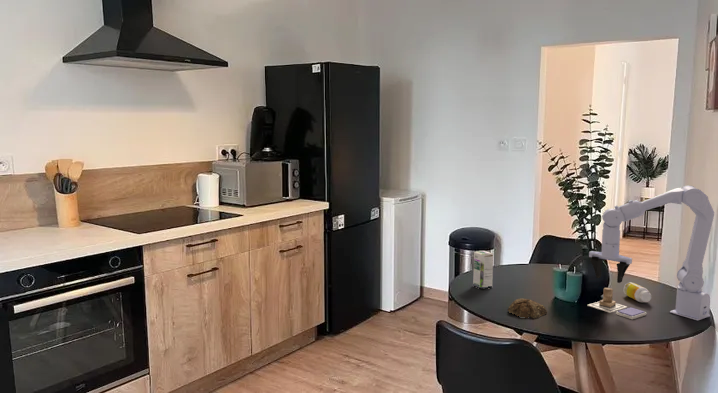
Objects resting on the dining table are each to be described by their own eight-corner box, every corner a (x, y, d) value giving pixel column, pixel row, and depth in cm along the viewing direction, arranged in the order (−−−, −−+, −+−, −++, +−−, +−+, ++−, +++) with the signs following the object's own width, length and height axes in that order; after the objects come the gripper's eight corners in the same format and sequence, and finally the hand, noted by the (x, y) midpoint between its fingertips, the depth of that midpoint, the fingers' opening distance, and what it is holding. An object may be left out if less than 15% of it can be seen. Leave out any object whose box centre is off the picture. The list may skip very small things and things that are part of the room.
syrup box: (472, 286, 222) (473, 251, 220) (484, 284, 225) (484, 249, 223) (481, 290, 217) (481, 254, 215) (493, 287, 219) (493, 252, 217)
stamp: (615, 305, 196) (616, 289, 195) (610, 308, 193) (611, 291, 192) (604, 303, 199) (605, 286, 198) (599, 305, 196) (600, 288, 195)
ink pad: (646, 314, 187) (646, 311, 187) (632, 319, 183) (632, 316, 183) (630, 309, 192) (630, 306, 192) (616, 314, 188) (616, 310, 188)
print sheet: (627, 307, 195) (627, 306, 195) (609, 312, 190) (609, 311, 190) (604, 300, 202) (604, 299, 202) (587, 305, 197) (587, 304, 197)
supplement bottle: (622, 296, 207) (639, 305, 197) (622, 282, 207) (639, 290, 197) (636, 295, 208) (653, 303, 198) (636, 281, 207) (653, 289, 197)
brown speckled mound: (519, 304, 200) (519, 291, 200) (550, 312, 191) (551, 299, 191) (500, 313, 191) (500, 299, 191) (532, 322, 183) (533, 308, 182)
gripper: (636, 244, 190) (634, 282, 192) (596, 237, 201) (594, 273, 203) (627, 247, 185) (625, 286, 187) (586, 240, 196) (585, 277, 198)
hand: (608, 279), depth 195 cm, fingers open, 7 cm apart
